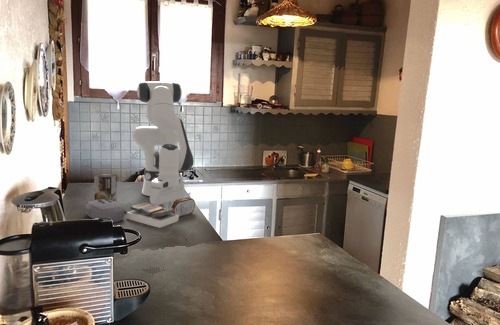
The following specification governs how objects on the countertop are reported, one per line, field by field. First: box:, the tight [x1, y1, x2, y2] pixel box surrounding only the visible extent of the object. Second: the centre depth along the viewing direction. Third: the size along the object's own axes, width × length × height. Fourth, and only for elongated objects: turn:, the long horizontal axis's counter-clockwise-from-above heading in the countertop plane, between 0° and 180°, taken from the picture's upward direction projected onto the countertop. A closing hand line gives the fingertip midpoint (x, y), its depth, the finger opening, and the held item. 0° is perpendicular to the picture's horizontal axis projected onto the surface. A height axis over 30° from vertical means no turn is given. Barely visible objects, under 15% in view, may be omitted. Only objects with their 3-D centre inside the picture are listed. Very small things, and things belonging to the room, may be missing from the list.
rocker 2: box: [141, 205, 164, 215], centre depth 189 cm, size 10×5×2 cm, turn 151°
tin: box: [171, 196, 196, 218], centre depth 200 cm, size 15×3×8 cm, turn 145°
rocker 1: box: [130, 201, 152, 212], centre depth 192 cm, size 10×5×2 cm, turn 151°
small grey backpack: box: [84, 198, 126, 223], centre depth 188 cm, size 15×8×20 cm
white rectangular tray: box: [124, 209, 180, 229], centre depth 192 cm, size 13×28×3 cm, turn 61°
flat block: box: [152, 209, 175, 216], centre depth 186 cm, size 10×5×2 cm, turn 151°
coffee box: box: [93, 173, 118, 202], centre depth 205 cm, size 9×6×16 cm
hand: (167, 210), depth 185 cm, fingers closed, pressing on flat block
